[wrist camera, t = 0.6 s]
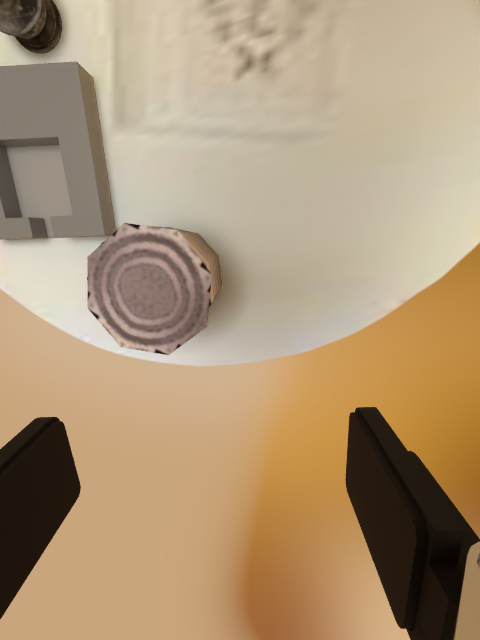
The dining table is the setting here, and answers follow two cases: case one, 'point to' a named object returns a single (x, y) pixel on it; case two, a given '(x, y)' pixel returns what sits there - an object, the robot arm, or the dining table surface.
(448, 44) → the dining table surface
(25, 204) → the plate
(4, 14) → the dark chess piece
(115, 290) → the can
